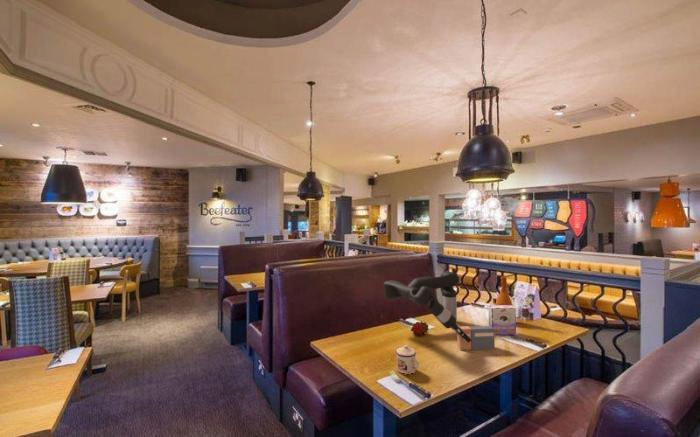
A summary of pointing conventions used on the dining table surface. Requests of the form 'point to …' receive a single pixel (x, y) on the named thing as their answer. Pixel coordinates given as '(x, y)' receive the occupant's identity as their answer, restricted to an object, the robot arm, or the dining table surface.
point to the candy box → (503, 319)
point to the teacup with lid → (406, 360)
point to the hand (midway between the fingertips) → (466, 338)
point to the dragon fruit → (419, 328)
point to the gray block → (482, 337)
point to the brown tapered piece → (503, 294)
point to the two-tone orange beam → (461, 341)
